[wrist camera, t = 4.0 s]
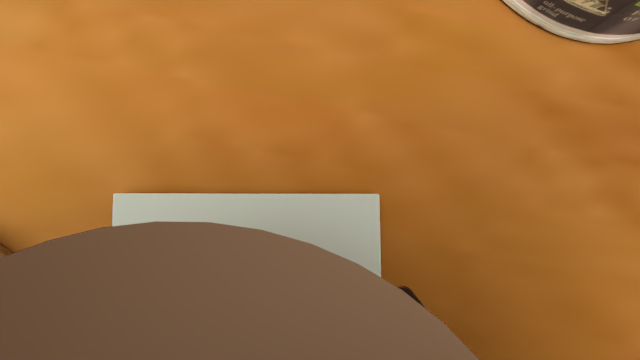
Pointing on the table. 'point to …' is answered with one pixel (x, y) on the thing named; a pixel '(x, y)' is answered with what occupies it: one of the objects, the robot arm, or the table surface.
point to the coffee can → (584, 18)
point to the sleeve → (206, 300)
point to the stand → (271, 217)
